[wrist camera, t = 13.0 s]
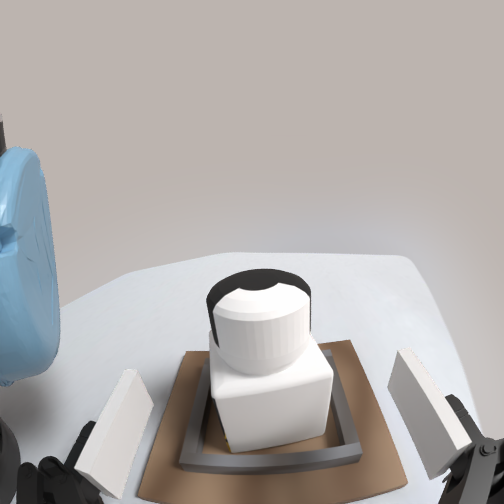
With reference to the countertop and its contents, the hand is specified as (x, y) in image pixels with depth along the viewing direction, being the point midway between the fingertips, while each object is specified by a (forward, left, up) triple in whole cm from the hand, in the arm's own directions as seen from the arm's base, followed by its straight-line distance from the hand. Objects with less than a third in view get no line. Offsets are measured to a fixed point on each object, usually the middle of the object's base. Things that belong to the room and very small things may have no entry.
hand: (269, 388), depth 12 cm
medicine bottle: (0, +5, -8) cm, 10 cm away
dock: (0, +5, -9) cm, 10 cm away
